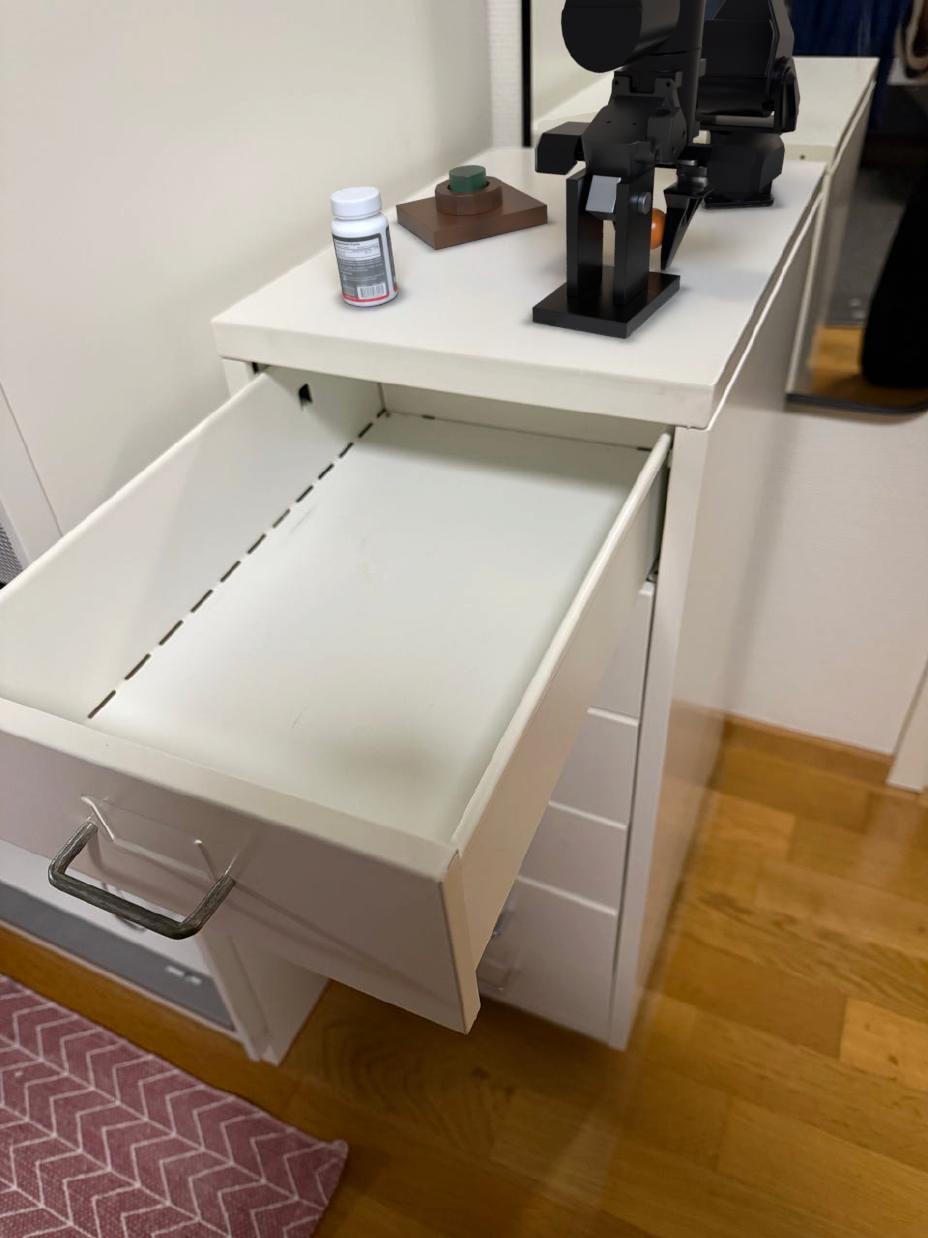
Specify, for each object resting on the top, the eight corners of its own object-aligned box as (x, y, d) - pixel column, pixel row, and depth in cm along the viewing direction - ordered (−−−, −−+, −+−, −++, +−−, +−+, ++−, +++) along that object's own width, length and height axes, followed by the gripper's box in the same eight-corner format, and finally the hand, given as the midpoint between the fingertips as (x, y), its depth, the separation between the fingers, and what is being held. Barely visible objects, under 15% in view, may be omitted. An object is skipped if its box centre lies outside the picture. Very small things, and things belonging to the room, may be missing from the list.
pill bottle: (364, 283, 78) (348, 181, 72) (408, 289, 76) (395, 186, 70) (332, 303, 75) (313, 199, 69) (377, 311, 73) (361, 204, 67)
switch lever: (634, 251, 75) (644, 211, 74) (669, 255, 73) (680, 215, 72) (577, 215, 65) (588, 168, 64) (617, 219, 63) (628, 171, 62)
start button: (477, 181, 87) (476, 162, 86) (493, 189, 85) (492, 170, 84) (444, 188, 87) (442, 169, 85) (459, 197, 84) (457, 177, 83)
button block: (502, 197, 93) (500, 161, 91) (547, 222, 86) (547, 184, 83) (397, 222, 90) (393, 185, 87) (435, 249, 83) (431, 210, 80)
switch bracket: (590, 276, 75) (592, 150, 68) (679, 289, 71) (690, 157, 65) (532, 322, 69) (527, 188, 62) (625, 339, 65) (631, 198, 59)
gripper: (495, 64, 63) (502, 283, 73) (748, 71, 55) (718, 317, 65) (568, 40, 70) (566, 243, 80) (803, 43, 62) (768, 269, 72)
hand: (646, 266), depth 74 cm, fingers closed on switch lever, 3 cm apart
